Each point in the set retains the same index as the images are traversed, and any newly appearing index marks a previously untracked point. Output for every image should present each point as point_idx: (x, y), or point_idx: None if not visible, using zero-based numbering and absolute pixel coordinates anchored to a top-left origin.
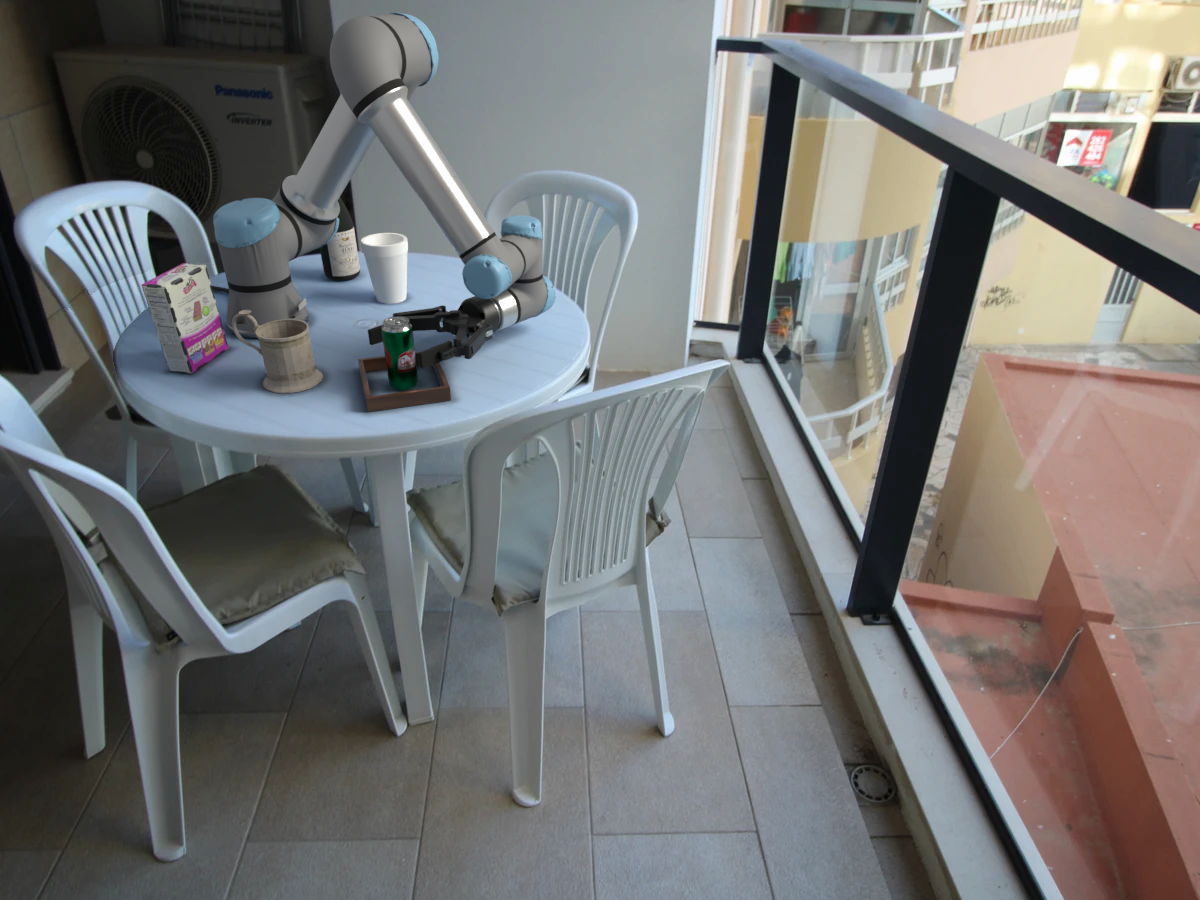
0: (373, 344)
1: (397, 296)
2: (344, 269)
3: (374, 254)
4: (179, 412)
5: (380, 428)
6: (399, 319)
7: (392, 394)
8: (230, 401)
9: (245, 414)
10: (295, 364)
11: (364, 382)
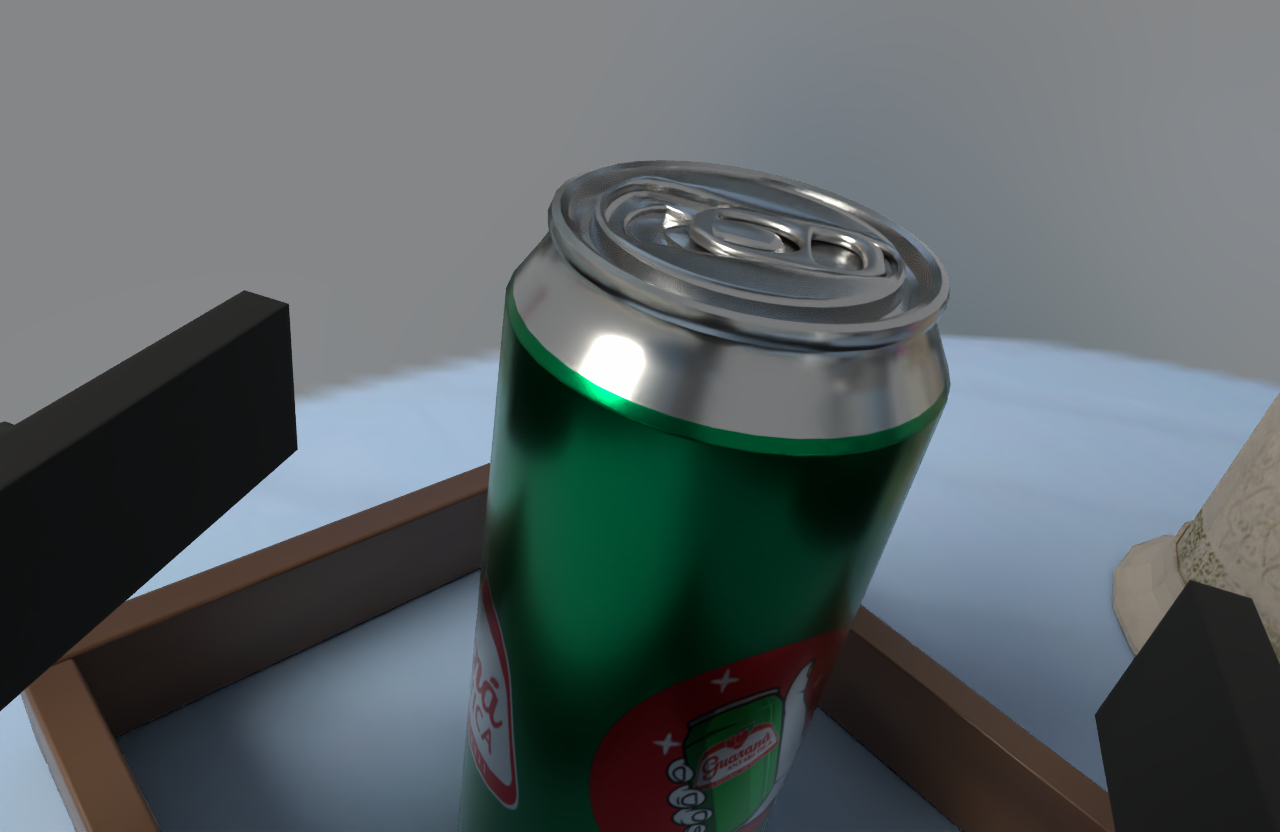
0: (1100, 723)
1: None
2: None
3: None
4: (1245, 381)
5: (445, 400)
6: (751, 260)
7: (486, 471)
8: (1228, 454)
9: (1062, 400)
10: (1235, 462)
11: None
